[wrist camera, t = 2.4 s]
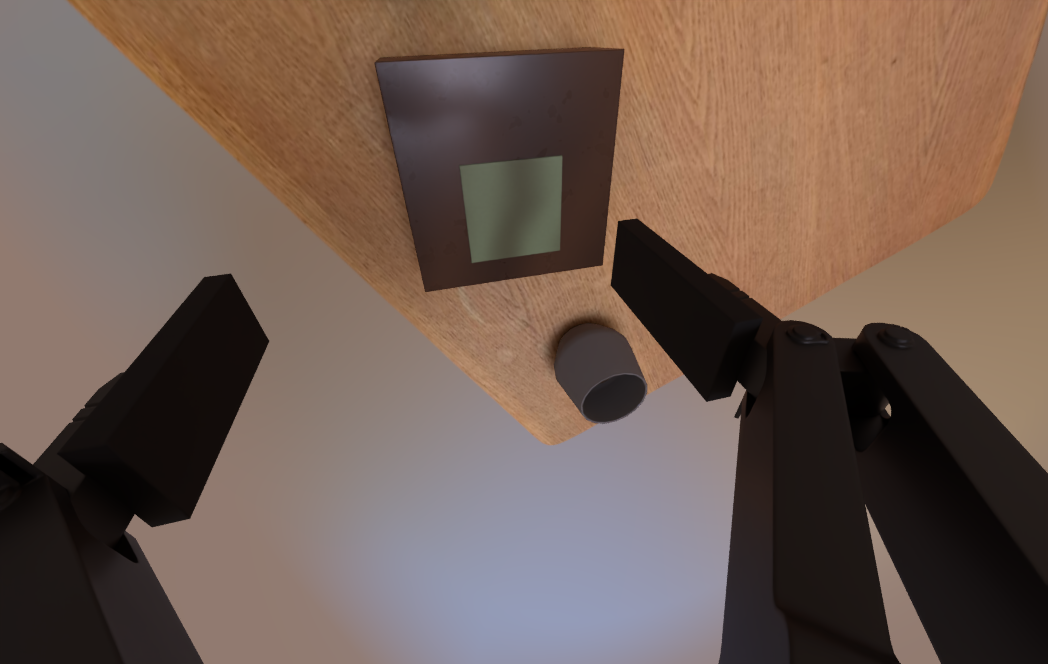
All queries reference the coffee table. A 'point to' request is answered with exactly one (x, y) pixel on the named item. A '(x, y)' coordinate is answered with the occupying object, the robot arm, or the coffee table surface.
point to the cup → (599, 373)
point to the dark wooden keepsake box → (504, 159)
